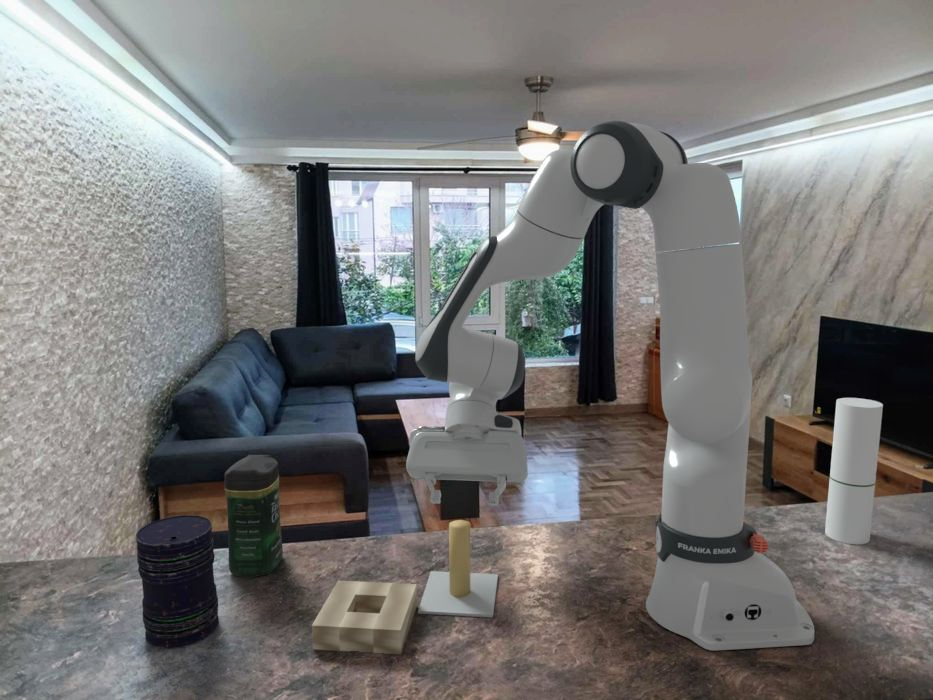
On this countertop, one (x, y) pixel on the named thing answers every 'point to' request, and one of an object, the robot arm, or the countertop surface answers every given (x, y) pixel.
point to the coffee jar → (253, 516)
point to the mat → (470, 605)
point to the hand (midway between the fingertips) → (464, 503)
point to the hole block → (365, 617)
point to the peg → (459, 558)
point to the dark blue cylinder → (177, 581)
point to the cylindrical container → (853, 470)
